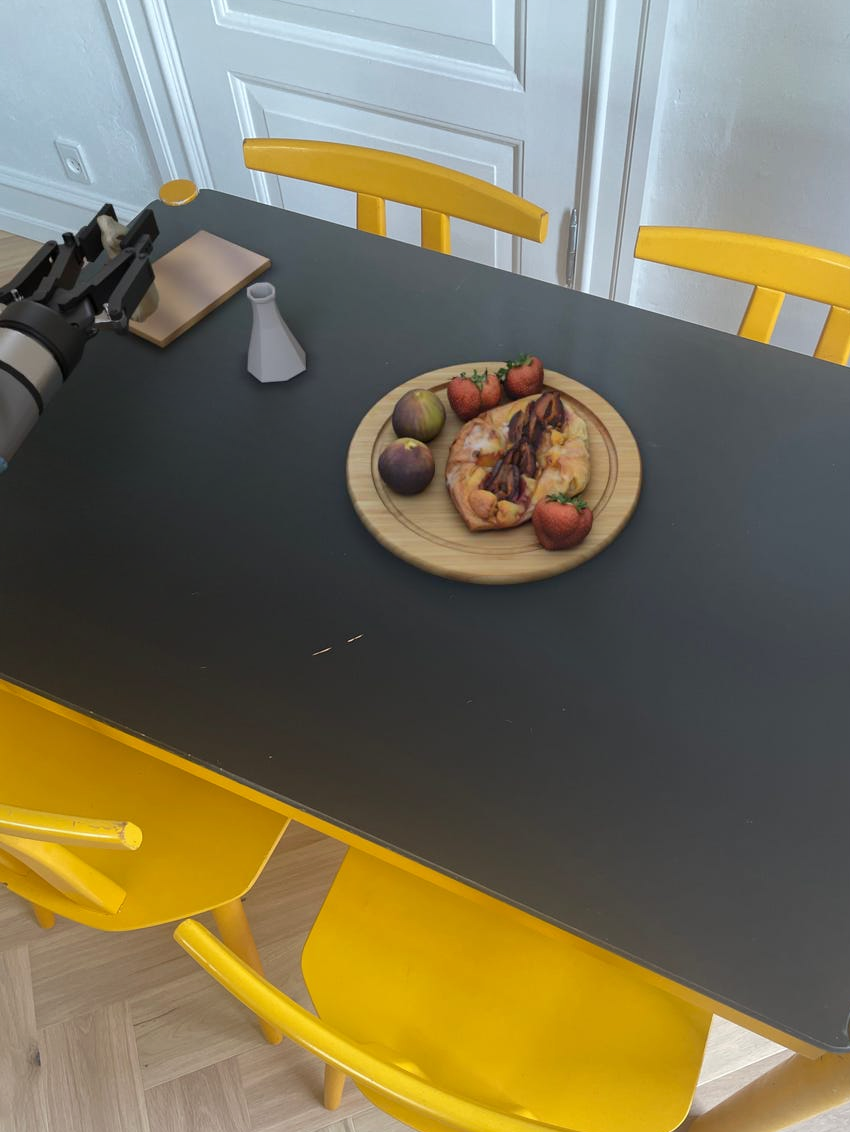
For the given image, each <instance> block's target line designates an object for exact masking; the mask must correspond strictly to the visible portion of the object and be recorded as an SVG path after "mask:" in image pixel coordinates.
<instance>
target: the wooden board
mask: <svg viewBox="0 0 850 1132" xmlns="http://www.w3.org/2000/svg"><path fill="white" fill-rule="evenodd" d="M151 265H152V268H153V271H154V275H155V279H154V283H155V286H156V289H157V291H158V294H159V302H158V308H157V310H156V311H155V312H154V313H153V314H151V315H150V316H148V317H147V319H146V320H145V321H144V322H143V323H139V322H136V321H133V320H131V319H130V320H129V331H128V332H130V333H132V334H135V335H136V336H139V337H140V338H142V339H144V340H146V341H149V342H150V343H152V344H154V345H156V346H158V347H160V348H165V347H167V346H168V345H170V344H171V343H172V342H173V341H175V340H176V339H177V338H178V337H180V336H181V335H182V334H184V333H185V332H187V331H188V330H189V329H190V328H191V327H193V326H194V325H196V324H197V323H199V321H201V320H202V319H204V318H205V317H206V316H208V315H209V314H210V313H211V312H212V311H214V310H215V309H217V308H218V307H219V306H221V305H222V304H223V303H225V302H226V301H227V300H228V299H230V298H231V297H232V296H234V295H235V294H236V293H238V292H239V291H241V290H242V289H243V288H245V286H247V285H248V284H249V283H251V282H252V281H254V280H255V279H256V278H258V277H259V276H260V275H261V274H263V273H264V272H266V270H268V269H269V268H270V267H272V263H271V259H270V258H267V257H266V256H263V255H260V254H258V253H256V252H254V251H252V250H249V249H247V248H245V247H243V246H241V245H238V244H237V243H233V242H231V241H229V240H227V239H225V238H222V237H220V236H217V235H215V234H214V233H211V232H208V231H207V230H205V229H201V230H199V231H198V232H196V233H195V234H193V235H192V236H191V237H189V238H188V239H186V240H185V241H183V242H181V244H179V245H177V246H176V247H175V248H173V249H172V250H170V251H169V252H168V253H166V254H165V255H163V256H162V257H161V258H159V259H157V260H156V261H154V262H153V263H151Z"/></svg>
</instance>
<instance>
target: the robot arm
mask: <svg viewBox="0 0 850 1132" xmlns="http://www.w3.org/2000/svg"><path fill="white" fill-rule="evenodd" d="M102 215H106V216H109V217H112V218H113V219H114V220H115V221H116V222H118V223H120V222H119V219H118V217H117V213H116V211H115V208H114V205H113V203H107V202H105V204H103V206H102V207H101V208H100V210H98V212H97V213H96V214H95V216H94V217H93V218H92V219H91V221H89V223H88V224H87V225H84V226H82V227H81V228H80V229H79V230H78V231H77V233H76V234H74V233H73V232H72V231H65V232H64V233H62V234H61V237H62V240H63V243H60V244H59V243H58V241H57V240H54V239H51V240H48V241H46V242H45V243H44V244H43V245H42V246H41V247H40V248H39V249H38V251H37V252H35V254H34V255H33V256H32V257H31V258H30V259H29V260H28V262H26V264H25V265H24V266H23V267H22V268H21V269H20V270H19V271H18V272H17V273H16V274H15V275H14V277H12V279H11V280H10V281H9V282H7V283H6V284H4V285H2V286H1V287H0V311H1V313H0V474H1V473H2V472H5V470H6V469H8V464H9V462H10V461H11V459H12V458H13V457H14V455H15V454H16V452H17V451H18V450H19V448H20V446H21V445H22V444H23V442H24V440H25V439H26V438H27V436H28V435H29V434H30V432H31V431H32V429H33V428H34V426H35V425H36V424H37V422H38V420H39V419H40V418H41V416H42V414H43V413H45V411H46V409H47V408H48V406H49V405H50V404H51V402H52V401H53V399H54V398H55V397H56V395H57V394H58V392H59V391H60V389H61V388H62V385H63V384H64V383H66V381H67V380H68V379H69V377H70V376H71V375H72V373H73V372H74V371H75V369H76V368H77V366H78V365H79V364H80V362H81V361H82V358H83V354H84V349H85V346H86V344H87V342H89V341H90V340H91V339H94V338H95V337H96V336H97V335H99V332H100V331H104V330H113V329H114V331H115V334H116V335H117V336H126V335H127V334H128V333H129V332H130V331H129V320H130V318H131V317H132V315H133V313H134V312H135V310H136V308H137V307H138V305H139V304H140V302H141V300H142V299H143V297H144V296H145V294H146V292H147V291H148V289H149V288H150V286H151V284H152V283H153V281H154V279H155V275H154V271H153V268H152V263H151V260H150V255H151V253H152V252H153V251H154V245H153V244H154V243H155V241H156V239H157V238H158V237H159V236H160V234H161V232H160V229H159V227H158V223H157V220H156V217H155V214H154V210H153V209H151V208H145V209H144V210H143V212H142V213H141V214H140V216H139V217H138V218H137V220H136V221H135V222H134V224H133V225H132V226H131V228H130V229H129V232H128V233H127V234H126V236H125V237H124V238H123V240H122V241H121V242H120V243H119V245H120V248H121V252H120V253H119V254H118V255H117V256H116V257H115V258H113V259H112V260H111V261H110V260H109V261H110V262H109V261H108V262H109V263H108V262H107V263H106V264H107V265H106V266H104V265H103V267H102V268H101V269H99V270H98V271H97V272H96V273H95V274H94V275H93V276H92V277H91V278H90V279H89V280H88V281H83V280H81V281H79V282H78V283H77V281H78V280H79V277H80V275H81V273H82V270H83V268H84V266H85V264H86V263H85V260H86V262H88V263H95V262H96V260H97V259H98V258H99V257H100V256H101V254H102V253H103V251H105V249H104V247H103V244H102V240H101V234H102V232H101V229H100V227H99V225H98V223H97V218H98V217H99V216H102ZM84 259H85V260H84ZM50 260H51V261H50Z"/></svg>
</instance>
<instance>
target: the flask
mask: <svg viewBox="0 0 850 1132" xmlns="http://www.w3.org/2000/svg"><path fill="white" fill-rule="evenodd" d="M246 296H247V299H248V300H249V301H250V303H251V307H252V318H253V319H252V320H253V321H252V327H251V336H250V341H249V347H248V352H247V372H249V373H250V374H251V375H252V376H253V377H255V378H256V379H257V380H258V381H260V382H261V383H271V382H274V383H275V382H284V381H289V380H290V379H292V378H293V377H296V376H297V375H299V374H301V373H302V372H304V371H306V370H307V368H306V367H307V362H306V356H307V355H306V354H307V353H306V352H305V350H304V349H303V347H302V346H301V345H300V343H299V342H298V340H297V339H296V336H294V335H293V333H292V331H291V330H290V328H289V326H288V325H287V323H286V322H285V320H284V319H283V317H282V315H281V313H280V310H279V308H278V306H277V303H276V287H275V286H273V285H272V284H271V283H270V282H267V281H266V282H256V283H254V284H252V285H250V286H248V287H246Z"/></svg>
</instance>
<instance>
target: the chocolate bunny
mask: <svg viewBox="0 0 850 1132" xmlns="http://www.w3.org/2000/svg"><path fill="white" fill-rule="evenodd" d="M118 222H119V221H118ZM118 222H116V221H115V220H114V219H113V218H112V217H109V216H106V215H102V216H99V217H98V218H97V223H98V225H99V227H100V229H101V232H102V234H101V240H102V244H103V247H104V251H105V253H106V255H107V256H108V258H109V260H108V262H107V263H104V264H103V267H104V266H106V265H107V264H108V263H109V262H110V261H111V260H112V259H113V258H115V257H116V256H117V255H118V254H119V253H120V252H121V248H120V245H119V243H120V242H121V241H122V240H123V238H124V237H125V236H126V234H127V233H128V232H129V230H130V229H129V228H128V227H127V226H126V225H124V224H122V223H120V222H119V223H118ZM158 302H159V294H158V291H157V289H156V286H155V283H154V281H153V283H152V284H151V286H150V288H149V289H148V291H147V292H146V294H145V296H144V297H143V299H142V300H141V302H140V304H139V305H138V307H137V308H136V310H135V312H134V313H133V315H132V317H131V318H130V319H131V320H133V321H136V322H139V323H143V322H144V321H145V320H146V319H147V317H148V316H150V315H151V314H153V313H154V312H155V311H156V310H157V308H158Z"/></svg>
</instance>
